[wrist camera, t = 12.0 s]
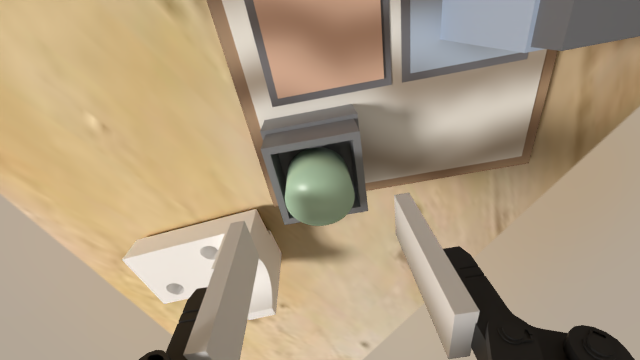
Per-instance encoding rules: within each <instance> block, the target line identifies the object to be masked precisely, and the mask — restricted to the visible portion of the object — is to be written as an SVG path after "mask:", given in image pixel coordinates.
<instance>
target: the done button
mask: <svg viewBox="0 0 640 360" xmlns="http://www.w3.org/2000/svg"><path fill="white" fill-rule="evenodd" d="M354 199H355V193H354V189H353V185H352V182H351V178H350V175H349V171H348V168H347V165H346V162H345V161H344V159H343V158H342V157H341V156H340V155H339V154H338V153H336V152H335V151H333V150H330V149H327V148H321V147H316V148H310V149H307V150H304V151H302V152H300V153H299V154H298V155H296V156H295V157H294V159H293V160H292V161H291V163H290V165H289V168H288V173H287V182H286V191H285V203H286V207H287V209H288V211H289V212H290V214H291V215H292V216H293V217H294V218H296V219H297V220H299V221H300V222H302V223H305V224H308V225H313V226H324V225H329V224H333V223H335V222H337V221H339V220H341V219H342V218H344V217H345V216H346V215H347V214H348V213H349V211H350V210H351V208H352V206H353V204H354Z"/></svg>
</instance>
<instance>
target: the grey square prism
mask: <svg viewBox="0 0 640 360" xmlns="http://www.w3.org/2000/svg"><path fill="white" fill-rule="evenodd" d="M638 36H640V0H442V18H441V38H440V40H446V41H453V42H459V43H465V44H471V45H478V46H484V47H490V48H496V49H503V50H509V51H515V52H521V53H527V52H533V51H538V50H543V49H550V50H558V51H564V50H569V49H574V48H579V47H585V46H590V45H595V44H601V43H606V42H611V41H616V40H622V39H627V38H632V37H638Z"/></svg>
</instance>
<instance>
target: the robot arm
mask: <svg viewBox="0 0 640 360" xmlns="http://www.w3.org/2000/svg"><path fill="white" fill-rule="evenodd" d="M394 199H395V225H396V236H397V238H398V240H399V243H400V245H401V248H402V250H403V252H404V255H405V257H406V259H407V262H408V264H409V267H410V269H411V271H412V274H413V276H414V278H415V281H416V283H417V286H418V288H419V290H420V293H421V295H422V297H423V300H424V302H425V305H426V307H427V309H428V312H429V314H430V316H431V319H432V321H433V324H434V326H435V328H436V331H437V333H438V335H439V338H440V340H441V343H442V345H443V347H444V349H445V352H446V354H447V357H448V359H452V358H460V357H467V356H470V353H471V348H472V350H473V351H474V354H475V356H476V358H477V360H635V359H634V358H633V357H632V356H631V354H630V353H629V352H628V351H627V349H626V348H625V347H624V346H623V345H622V344H621V343H620V342H619V341H618V340H617V339H615V338H614V337H612V336H611V335H609V334H608V333H606V332H604V331H602V330H599V329H597V328H594V327H590V326H584V325H581V326H575V327H573V328H572V329H571V330H570V331H569V332H568V333H563V332H557V331H551V330H545V329H540V328H536V327H533V326H531V325H528V324H527V323H526V322H524V321H523V320H521V319H520V318H518V317H516V316H515V315H513V314H512V312H511V311H510V310H509V309H508V308H507V306H506V305H505V304H504V302H503V300H502V299H501V298H500V296H499V295H498V293H497V292H496V291H495V289H494V288H493V286H492V285H491V283H490V282H489V281H488V279H487V278H486V276H484V273H483V272H482V271H481V269H480V268H479V267H478V265H477V263H476V262H475V261H474V259H473V258H472V256H471V255H470V254H469V253H467V252H466V251H465V250H463V249H462V248H461V247H452V248H446V249H442V247H441V245H440V244H439V242H438V240H437V239H436V237H435V235H434V234H433V232H432V230H431V229H430V227H429V225H428V224H427V222H426V220H425V219H424V217H423V215H422V214H421V212H420V210H419V209H418V207H417V205H416V203H415V202H414V200H413V198H412V197H411V195H410V193H404V194H398V195H394ZM258 261H259V254H258V252H257V249H256V247H255V245H254V242H253V240H252V237H251V235H250V233H249V230H248V228H247V225H246V223H245V221H239V222H233V223H231V224H230V226H229V229H228V232H227V235H226V237H225V240H224V243H223V246H222V249H221V251H220V254H219V257H218V260H217V262H216V265H215V268H214V271H213V273H212V276H211V279H210V282H209V285H208V287H205V288H198V289H196V290H195V291H194V293H193V294H192V295H191V296H190V298H189V299H188V300H187V303H186V305H185V308H184V310H183V314H182V315H181V317H180V320H179V324H177V327H176V329H175V332H174V334H173V336H172V339H171V342H170V344H169V346H168V349H167V351H166V353H165V352H164V351H162V350H155V351H152V352H149V353H147V354H146V355H144V356H143V357H141V358H140V359H139V360H240V355H241V350H242V345H243V339H244V334H245V329H246V324H247V319H248V313H249V308H250V303H251V298H252V292H253V287H254V282H255V277H256V271H257V266H258Z"/></svg>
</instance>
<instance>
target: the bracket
mask: <svg viewBox="0 0 640 360" xmlns="http://www.w3.org/2000/svg"><path fill="white" fill-rule="evenodd" d="M239 221H245V223H246V225H247V228H248V230H249V233H250V235H251V237H252V240H253V242H254V245H255V247H256V249H257V252H258V254H259V261H258V266H257V271H256V277H255V282H254V287H253V292H252V298H251V303H250V308H249V313H248V320H252V319H256V318H261V317H266V316H270V315H275V314H276V307H277V296H278V286H279V276H280V266H281V256H282V253H281V251H280V249H279V247H278V245H277V243H276V241H275V239H274V237H273V235H272V233H271V231H267V229H266V227H265V225H264V223H263V221H262V219H261V217H260V215H259V213H258V211H257V209H254V210H250V211H246V212H242V213H238V214H234V215H231V216H227V217H223V218H219V219H215V220H211V221H208V222H204V223H200V224H196V225H192V226H188V227H185V228H181V229H177V230H173V231H169V232H165V233H161V234H158V235H154V236H150V237H146V238H142V239H138V240H136V241H135V243H134V244H133V245H132V247H131V248H130V249H129V251H128V252H127V253H126V255H125V256H124V257H123V259H122V260H123V261H124V262H125V264H126V265H127V266H128V267H129V268H130V269H131V270H132V271H133V272H134V273H135V274H136V275H137V276H138V277H139V278H140V279H141V280H142V281H143V282H144V283H145V284H146V285H147V286H148V288H149V289H150V290H151V291H152V292H153V293H154V294H155V295H156V296H157V297H158V298H159V299H160V300H161V301H162V302H163V303H164V304H166V303H171V302H175V301H179V300H183V299H188V298H190V296H191V295H192V294H193V293H194V291H195V290H196V289H198V288H205V287H208V285H209V282H210V279H211V276H212V273H213V271H214V268H215V265H216V262H217V260H218V257H219V254H220V251H221V249H222V246H223V243H224V240H225V237H226V235H227V232H228V229H229V226H230V224H231V223H233V222H239Z"/></svg>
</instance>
